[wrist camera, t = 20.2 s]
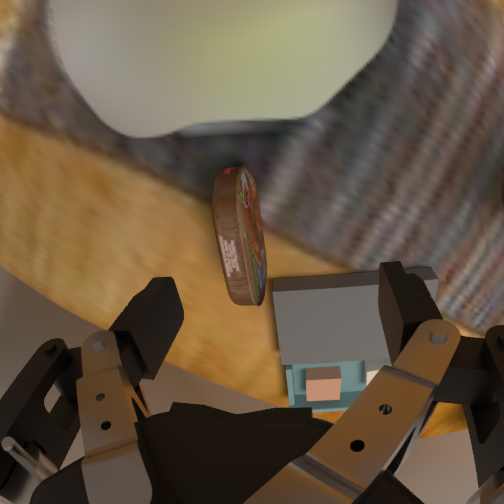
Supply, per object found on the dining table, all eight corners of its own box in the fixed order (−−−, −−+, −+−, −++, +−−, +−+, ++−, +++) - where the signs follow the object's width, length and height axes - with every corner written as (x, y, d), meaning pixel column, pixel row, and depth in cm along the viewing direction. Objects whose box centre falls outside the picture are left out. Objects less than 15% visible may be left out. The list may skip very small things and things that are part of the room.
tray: (414, 340, 41) (421, 359, 38) (404, 384, 46) (408, 403, 42) (286, 351, 45) (284, 371, 41) (290, 394, 49) (289, 413, 46)
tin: (269, 280, 40) (262, 322, 33) (244, 281, 41) (232, 323, 33) (252, 157, 34) (239, 174, 26) (224, 161, 34) (203, 179, 27)
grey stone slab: (430, 266, 36) (438, 278, 34) (418, 339, 41) (423, 352, 39) (274, 278, 40) (272, 291, 37) (282, 350, 45) (281, 365, 42)
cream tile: (397, 354, 42) (400, 366, 40) (395, 376, 44) (397, 388, 42) (364, 359, 43) (366, 371, 41) (364, 381, 45) (365, 393, 43)
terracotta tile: (340, 366, 44) (341, 378, 42) (338, 387, 46) (339, 399, 44) (306, 367, 45) (305, 380, 43) (306, 389, 47) (306, 401, 45)
